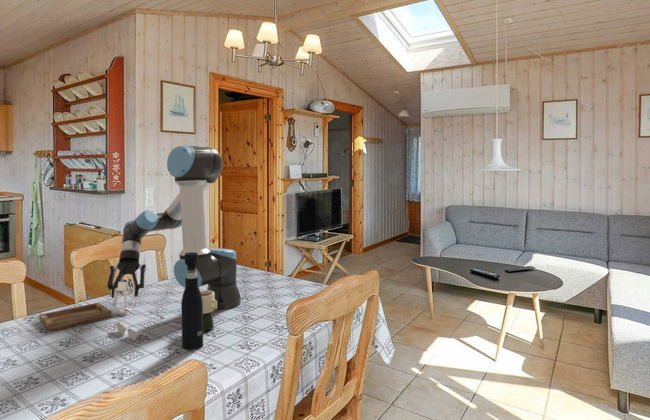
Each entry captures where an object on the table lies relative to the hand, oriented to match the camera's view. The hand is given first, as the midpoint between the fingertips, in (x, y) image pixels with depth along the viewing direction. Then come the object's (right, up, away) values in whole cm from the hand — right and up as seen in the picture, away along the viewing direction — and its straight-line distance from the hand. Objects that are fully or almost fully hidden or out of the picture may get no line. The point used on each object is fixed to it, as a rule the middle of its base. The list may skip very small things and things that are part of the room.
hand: (123, 304), depth 163 cm
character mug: (+35, -6, -14) cm, 39 cm away
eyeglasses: (+17, -6, -15) cm, 23 cm away
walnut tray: (-14, -4, -7) cm, 16 cm away
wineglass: (-1, -3, +4) cm, 5 cm away
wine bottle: (+36, -7, -28) cm, 46 cm away
